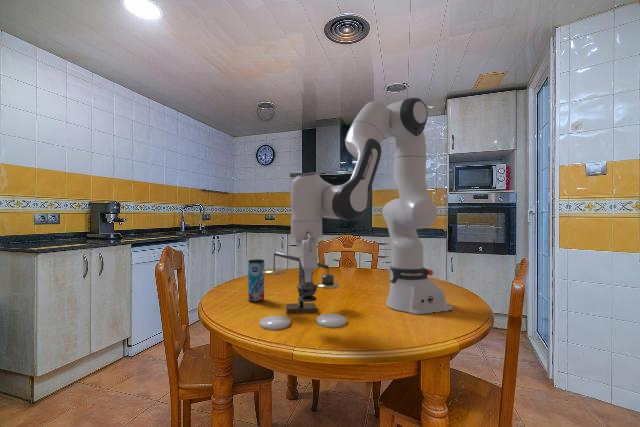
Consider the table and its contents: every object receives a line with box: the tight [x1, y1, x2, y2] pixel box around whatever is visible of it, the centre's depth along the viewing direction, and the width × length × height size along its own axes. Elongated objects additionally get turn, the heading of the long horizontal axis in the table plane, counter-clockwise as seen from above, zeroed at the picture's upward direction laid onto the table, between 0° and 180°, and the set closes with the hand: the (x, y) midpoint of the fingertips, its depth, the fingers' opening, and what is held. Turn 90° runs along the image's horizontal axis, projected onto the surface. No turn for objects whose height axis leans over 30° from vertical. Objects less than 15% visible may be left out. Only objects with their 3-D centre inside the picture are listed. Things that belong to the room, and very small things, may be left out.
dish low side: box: [316, 313, 347, 328], centre depth 94 cm, size 9×9×1 cm
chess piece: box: [296, 267, 319, 303], centre depth 87 cm, size 6×6×12 cm
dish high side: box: [259, 315, 291, 331], centre depth 91 cm, size 9×9×1 cm
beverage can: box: [247, 259, 265, 303], centre depth 115 cm, size 6×6×15 cm
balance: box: [262, 251, 340, 315], centre depth 104 cm, size 26×8×20 cm, turn 97°
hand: (307, 279), depth 87 cm, fingers closed on chess piece, 3 cm apart
